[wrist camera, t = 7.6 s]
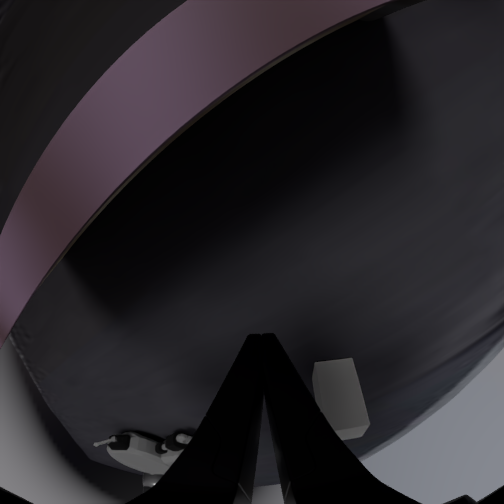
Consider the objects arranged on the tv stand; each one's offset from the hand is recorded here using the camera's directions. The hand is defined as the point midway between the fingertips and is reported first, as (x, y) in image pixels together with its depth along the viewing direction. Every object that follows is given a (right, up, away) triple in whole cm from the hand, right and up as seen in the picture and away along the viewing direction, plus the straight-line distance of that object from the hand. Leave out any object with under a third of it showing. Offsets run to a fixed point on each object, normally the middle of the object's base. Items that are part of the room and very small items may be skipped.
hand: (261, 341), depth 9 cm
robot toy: (-12, -22, +22) cm, 33 cm away
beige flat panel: (-4, +9, +2) cm, 10 cm away
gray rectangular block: (+6, -6, +12) cm, 15 cm away
